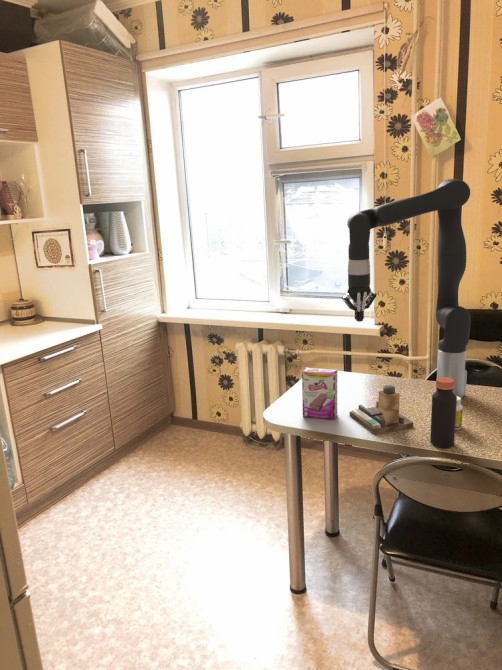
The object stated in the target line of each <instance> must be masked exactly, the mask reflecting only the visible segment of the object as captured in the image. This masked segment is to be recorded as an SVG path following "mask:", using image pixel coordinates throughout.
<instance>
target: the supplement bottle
mask: <svg viewBox="0 0 502 670" xmlns="http://www.w3.org/2000/svg"><path fill="white" fill-rule="evenodd" d="M456 397H457V405H456V423H455V431H458V430H460V429H462V425H463V413H464V412H463V410H464V406H463V405H462V404H461V403H462V398H460V397H458V396H456Z"/></svg>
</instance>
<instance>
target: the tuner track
mask: <svg viewBox="0 0 502 670" xmlns="http://www.w3.org/2000/svg"><path fill="white" fill-rule="evenodd" d="M375 405H376V406H372V407H365V406H364V405H362V404H358V408H353V409H351V411H349V417H350V418H352V419H353V420H355V422H357V423H358V424H359V425H361V426H362V427H363V428H365V429H367V430H368V431H369V432H370V433H372V434H373V435H374V436H377V435H381V434H385V433H390V432H395V431H400V430H404V429H405V430H406V429H410V428H414V421H412V420H410V419H409V418H407V417H406V416H404V415H403V414H402V413H399V423H394V424H389V425H385V424H386V422H385V421H384V420H383V419H381V418H380V417H378V416H374V417H371V416H370V414H375V413H378V406H379V400H378V401H376V402H375Z"/></svg>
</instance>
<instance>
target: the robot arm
mask: <svg viewBox="0 0 502 670" xmlns="http://www.w3.org/2000/svg"><path fill="white" fill-rule="evenodd" d="M470 197H471V188H470V186H469V184H468V183H467V182H465V181H464V180H461V179H458V178H449V179H448V178H447V179H444V180H443V181H442V182H441V183H440V184H439V185H438V187H437V188H436V189H433V190H430V191H428V192H425V193H422V194H418V195H415V196H409V197H406V198H401V199H396V200H393V201H390V202H386V203H385V204H381V205H379V206H376V207H372V208H369V209H365V210H360V211H357V212H353V213H352V214H351V215H350V216H349V217H348V219H347V222H346V223H347V224H346V225H347V228H348V231H349V232H348V233H349V244H348V262H347V286H348V289H347V293H346V294H345V295H343V296H341V300H342V301H343V302H344V304H345V305H346V306H347V307H348V309H350V310H351V311H354V320H355V321H356V322H358V323H361V322H363V321H364V319H365V310H366V309H367V310H368V309H369V308H370V307H371V305H372V304H373V302H374V301H375V299H376V298H377V296H378V295H377V293H374V292H373V291H372V289H371V287H370V286H371V261H370V239H371V238H370V237H371V230H372V229H375V228H379V227H382V228H383V227H386V226H389V225H390V226H391V225H393V224H397V223H400V222H403V221H406V220H409V219H411V218H415V217H417V216H421V215H425V214H427V213H432V212H436V211H437V217H438V219H437V220H438V229H437V299H436V309H435V319H436V323H437V324H438V325H439V327H441V328H443V329H444V335H443V338H442V339H439V341H438V345H437V366H436V367H437V368H436V379H437V378H440V377H448V378H452V379H453V380H454V389H453V393H454V394H455V395H456V396H458V397H460V398H461V399H462V398H464V397H465V396H466V395H467V376H468V371H467V369H466V355H467V354H466V353H467V352H466V351H467V346H468V344H469V340H470V336H471V335H470V334H471V324H472V319H471V314H470V311H469V310H468V309H467V308H466V307H463V306H460V305H459V286H460V283H461V281H462V278H463V276H464V275H465V272H466V268H467V243H466V237H465V235H464V234H465V233H464V230H463V229H464V228H463V225H462V208H463V207H462V206H465V204H466V203H467V202H468V201H469V199H470ZM351 300H352V301H351ZM436 391H437V389H436V388H435V392H436Z"/></svg>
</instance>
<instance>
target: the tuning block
mask: <svg viewBox="0 0 502 670" xmlns="http://www.w3.org/2000/svg"><path fill="white" fill-rule="evenodd" d="M400 396H401V395H400V392H399V391H397V390H396V387H395V386H394V385H389V384H388V385H384V386H383V387H382V390H378V401H379V406H378V413H375V414H370V416H371V417H374V416H378V417H380V418H381V419H383V420H384V421H385V422H386V424H385V425H389V424H394V423H399V414H400Z"/></svg>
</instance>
